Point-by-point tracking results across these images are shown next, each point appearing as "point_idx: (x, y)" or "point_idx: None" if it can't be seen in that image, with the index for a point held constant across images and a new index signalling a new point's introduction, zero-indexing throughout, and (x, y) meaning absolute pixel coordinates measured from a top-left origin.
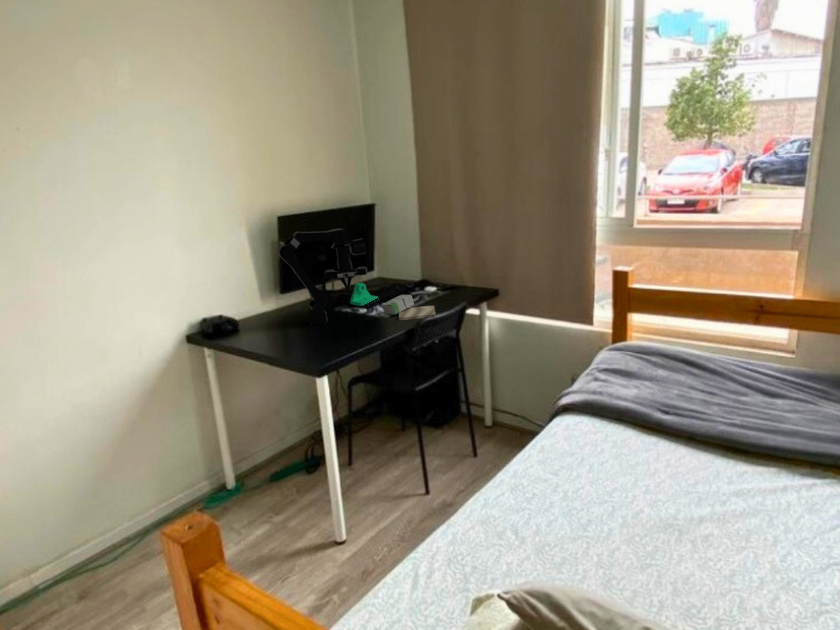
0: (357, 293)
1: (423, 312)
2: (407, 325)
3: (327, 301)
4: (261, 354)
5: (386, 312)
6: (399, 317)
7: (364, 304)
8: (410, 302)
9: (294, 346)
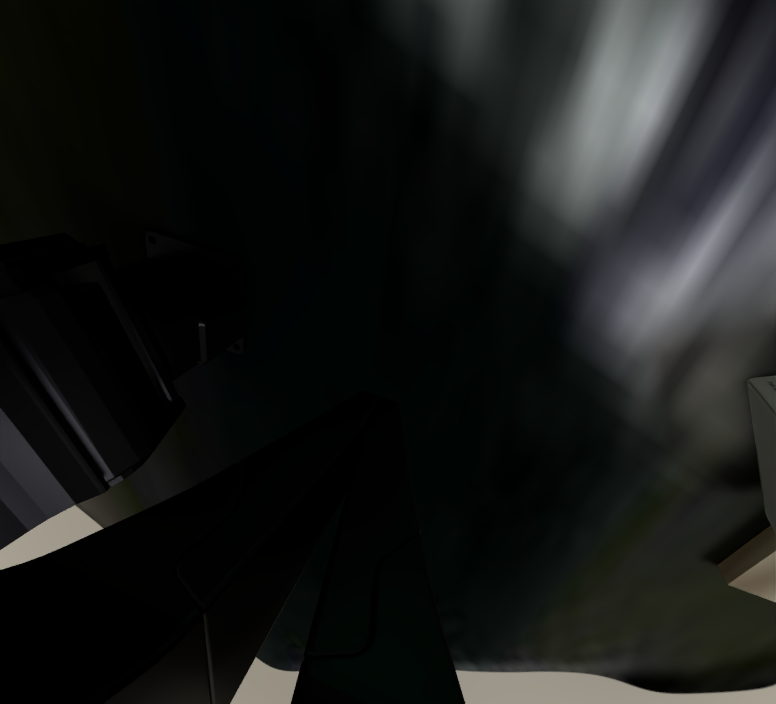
0: None
1: None
2: (690, 641)
3: (151, 435)
4: (86, 514)
5: (755, 421)
6: (735, 584)
7: None
8: None
9: None
